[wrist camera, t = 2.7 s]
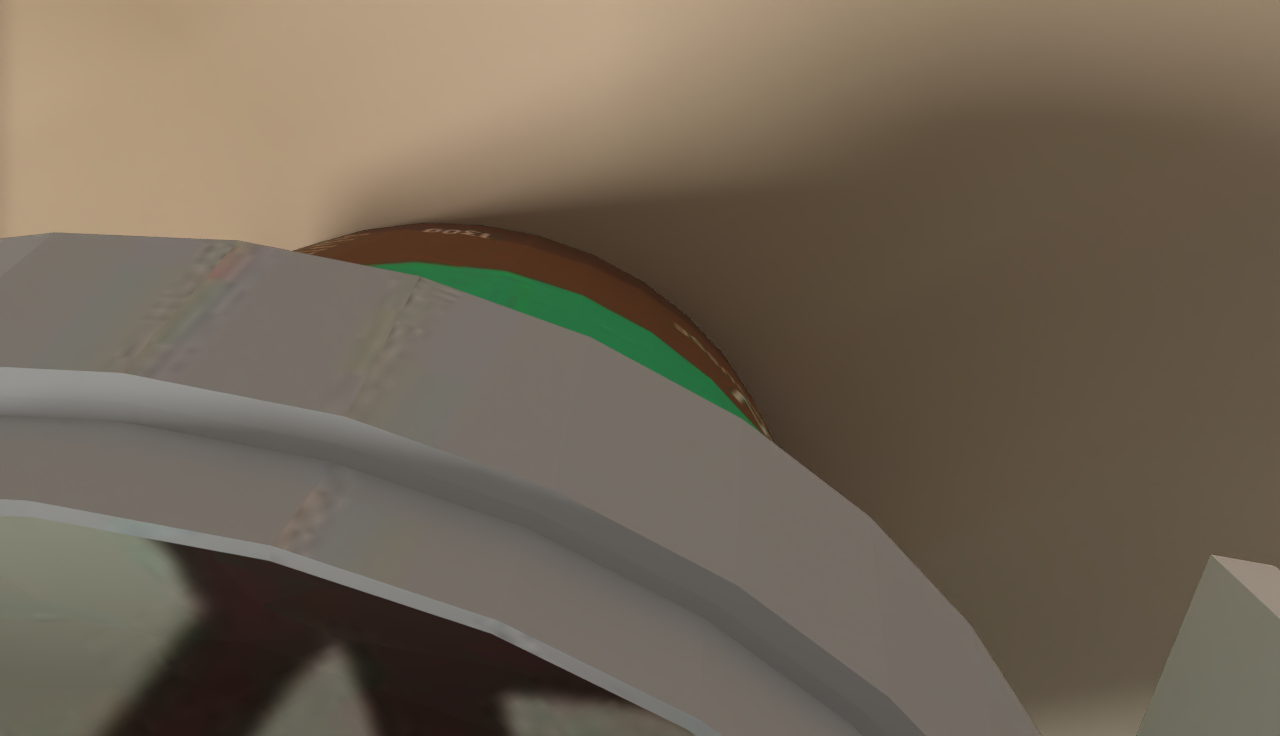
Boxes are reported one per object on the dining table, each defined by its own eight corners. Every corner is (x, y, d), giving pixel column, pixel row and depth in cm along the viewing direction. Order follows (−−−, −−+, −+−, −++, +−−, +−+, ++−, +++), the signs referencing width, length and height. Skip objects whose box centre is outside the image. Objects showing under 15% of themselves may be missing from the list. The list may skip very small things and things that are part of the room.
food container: (1006, 700, 16) (1555, 1724, 6) (646, 857, 17) (650, 1955, 7) (607, -79, 12) (485, -416, 3) (184, 171, 13) (-947, 533, 4)
